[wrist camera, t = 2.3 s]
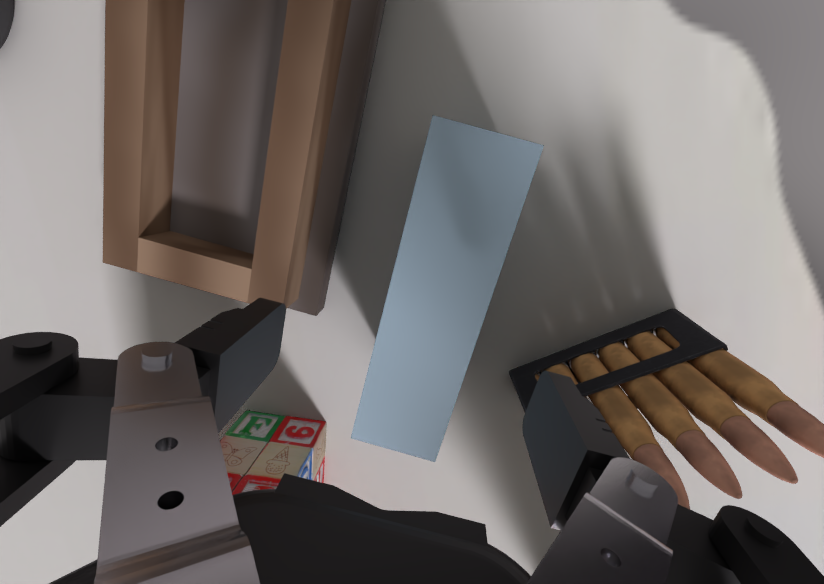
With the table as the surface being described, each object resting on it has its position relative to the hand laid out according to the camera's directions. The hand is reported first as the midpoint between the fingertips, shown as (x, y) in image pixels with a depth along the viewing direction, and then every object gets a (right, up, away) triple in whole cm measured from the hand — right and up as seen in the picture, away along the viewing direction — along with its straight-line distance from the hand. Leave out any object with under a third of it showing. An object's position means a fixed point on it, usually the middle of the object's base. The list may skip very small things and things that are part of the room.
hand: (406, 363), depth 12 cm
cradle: (-9, +13, +11) cm, 19 cm away
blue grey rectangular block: (+2, +4, +12) cm, 13 cm away
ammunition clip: (+12, -2, +13) cm, 18 cm away
